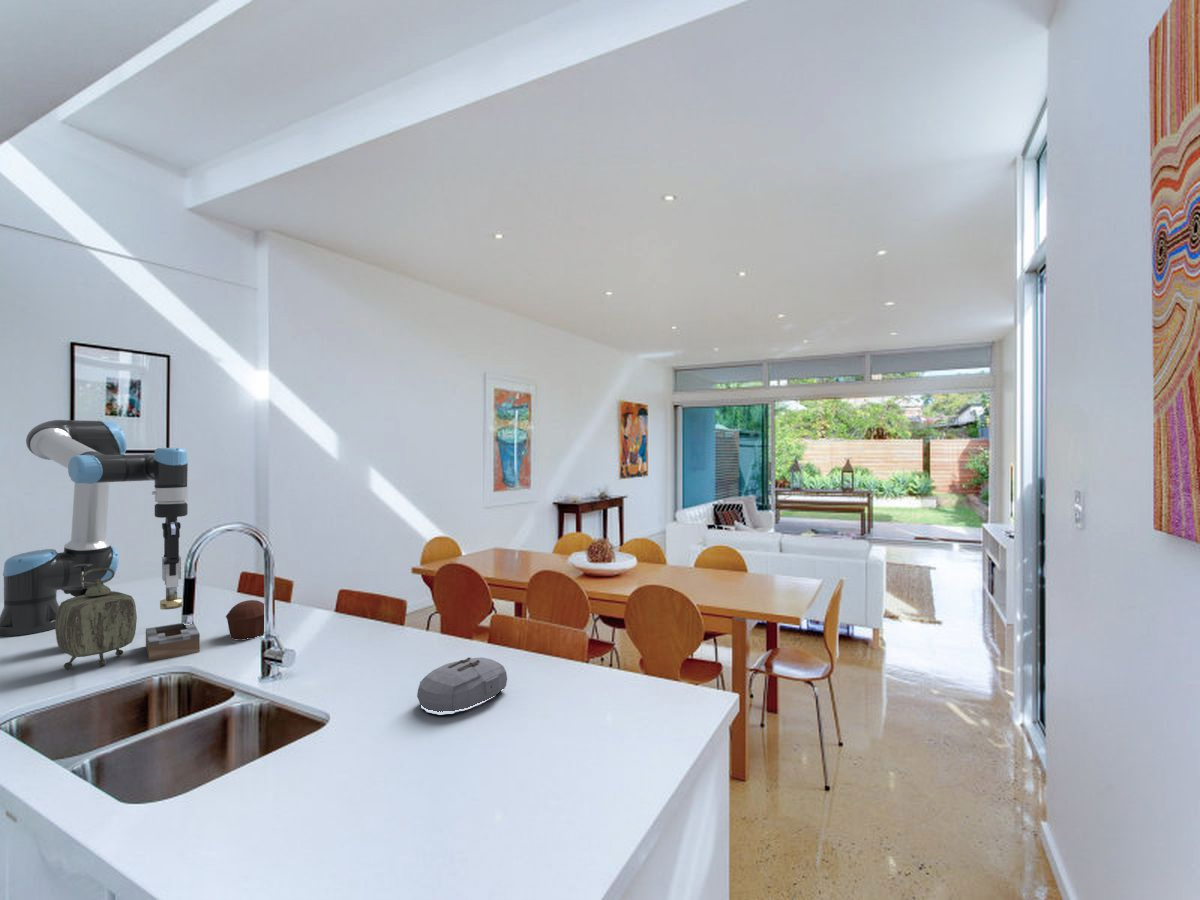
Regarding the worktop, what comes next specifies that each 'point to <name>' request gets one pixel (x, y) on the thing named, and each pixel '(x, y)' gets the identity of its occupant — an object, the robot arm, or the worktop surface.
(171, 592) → the headed peg
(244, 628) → the muffin
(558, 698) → the worktop surface
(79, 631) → the tabletop clock
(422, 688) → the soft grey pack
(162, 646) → the keyhole block
